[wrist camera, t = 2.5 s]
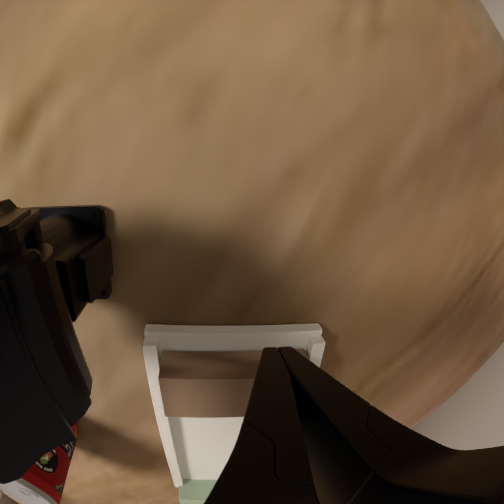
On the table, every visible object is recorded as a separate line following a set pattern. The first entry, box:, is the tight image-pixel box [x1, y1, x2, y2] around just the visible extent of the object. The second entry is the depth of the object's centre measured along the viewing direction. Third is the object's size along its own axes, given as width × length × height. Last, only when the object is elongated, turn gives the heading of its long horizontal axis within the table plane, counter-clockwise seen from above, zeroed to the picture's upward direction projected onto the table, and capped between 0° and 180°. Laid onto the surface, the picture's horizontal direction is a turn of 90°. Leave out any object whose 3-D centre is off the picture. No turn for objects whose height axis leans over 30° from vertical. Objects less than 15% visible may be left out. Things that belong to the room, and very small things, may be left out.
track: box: [142, 323, 326, 504], centre depth 24 cm, size 13×24×4 cm, turn 176°
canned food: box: [0, 423, 78, 504], centre depth 18 cm, size 8×8×11 cm
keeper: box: [158, 349, 308, 418], centre depth 21 cm, size 10×4×3 cm, turn 86°
